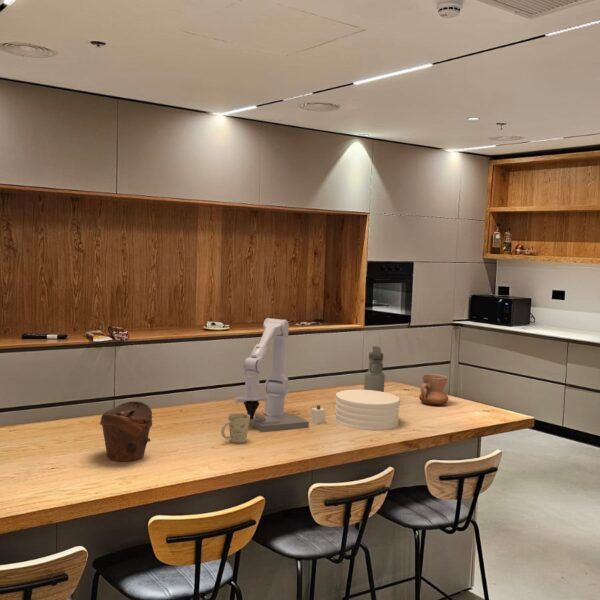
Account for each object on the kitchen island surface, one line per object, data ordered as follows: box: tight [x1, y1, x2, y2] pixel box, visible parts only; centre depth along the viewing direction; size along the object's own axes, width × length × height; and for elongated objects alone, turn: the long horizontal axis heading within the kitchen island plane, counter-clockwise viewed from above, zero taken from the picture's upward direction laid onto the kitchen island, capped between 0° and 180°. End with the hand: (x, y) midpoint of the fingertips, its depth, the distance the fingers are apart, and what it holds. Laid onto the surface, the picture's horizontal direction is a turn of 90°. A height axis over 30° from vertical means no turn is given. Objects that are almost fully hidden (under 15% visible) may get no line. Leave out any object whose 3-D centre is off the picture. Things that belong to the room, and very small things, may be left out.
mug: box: [220, 412, 250, 444], centre depth 271 cm, size 8×13×10 cm, turn 137°
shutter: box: [254, 412, 280, 423], centre depth 295 cm, size 8×8×2 cm
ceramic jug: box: [418, 373, 449, 406], centre depth 354 cm, size 18×14×14 cm
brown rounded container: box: [99, 400, 153, 462], centre depth 246 cm, size 18×20×18 cm
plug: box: [310, 404, 327, 425], centre depth 306 cm, size 4×5×8 cm
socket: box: [249, 413, 310, 433], centre depth 298 cm, size 14×22×2 cm, turn 119°
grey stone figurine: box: [363, 345, 386, 392], centre depth 347 cm, size 10×10×28 cm
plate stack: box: [334, 389, 401, 431], centre depth 312 cm, size 28×28×12 cm
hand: (250, 418), depth 291 cm, fingers closed
